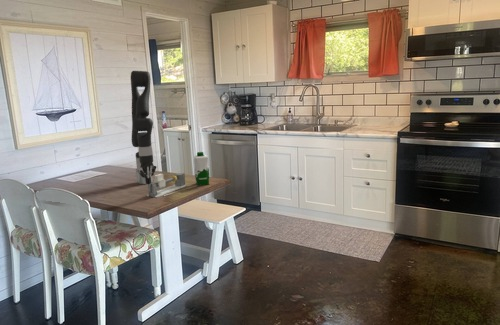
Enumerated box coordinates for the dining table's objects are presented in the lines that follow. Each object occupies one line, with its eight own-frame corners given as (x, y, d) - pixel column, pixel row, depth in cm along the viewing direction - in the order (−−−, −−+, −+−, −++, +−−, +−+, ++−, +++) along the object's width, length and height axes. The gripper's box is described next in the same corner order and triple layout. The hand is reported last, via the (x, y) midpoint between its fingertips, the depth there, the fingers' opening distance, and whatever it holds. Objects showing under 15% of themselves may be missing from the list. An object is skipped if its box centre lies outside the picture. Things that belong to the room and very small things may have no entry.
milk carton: (208, 181, 255) (206, 151, 250) (210, 184, 246) (208, 153, 242) (194, 182, 252) (192, 152, 248) (196, 186, 244) (194, 154, 240)
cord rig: (157, 197, 223) (155, 184, 221) (146, 196, 227) (145, 182, 225) (187, 186, 245) (186, 173, 244) (177, 184, 249) (176, 172, 248)
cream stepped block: (159, 189, 227) (158, 176, 225) (153, 188, 229) (152, 175, 227) (165, 187, 231) (164, 174, 229) (159, 186, 233) (158, 173, 232)
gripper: (149, 151, 226) (152, 180, 229) (132, 155, 215) (135, 186, 218) (159, 152, 222) (161, 182, 225) (142, 156, 211) (144, 187, 214)
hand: (148, 184), depth 222 cm, fingers closed
